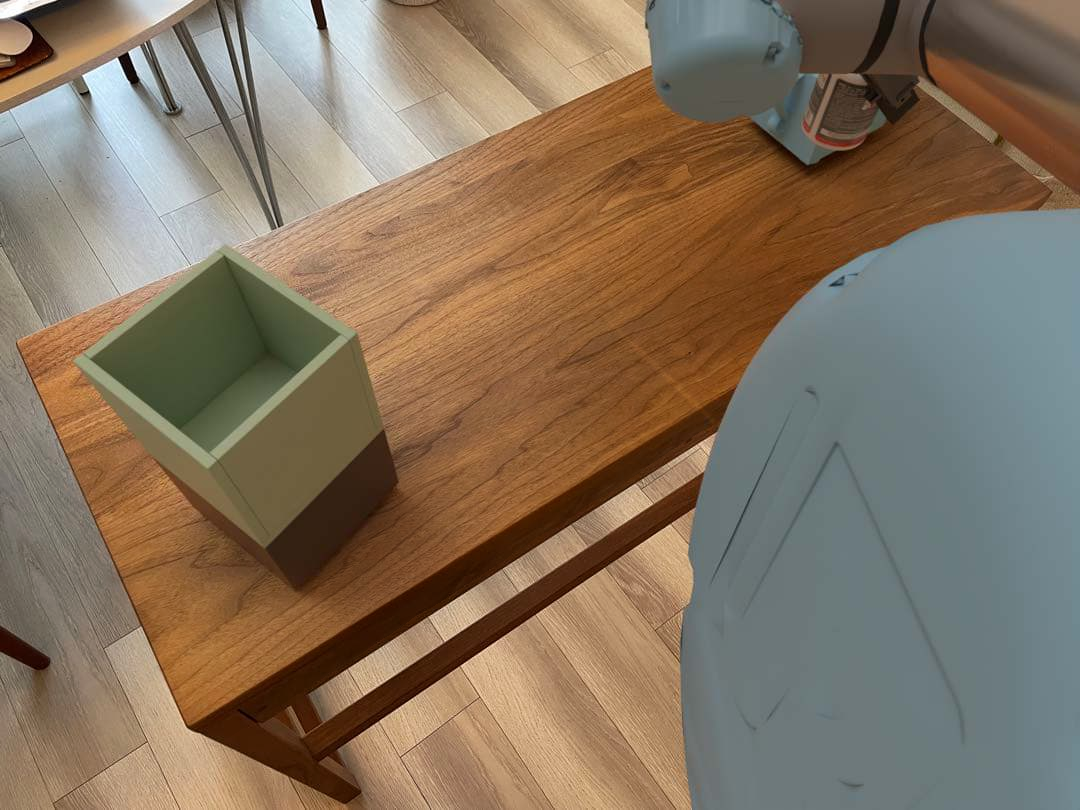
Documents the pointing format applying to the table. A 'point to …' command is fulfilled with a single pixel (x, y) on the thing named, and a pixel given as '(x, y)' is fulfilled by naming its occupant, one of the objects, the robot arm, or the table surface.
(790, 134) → the teapot
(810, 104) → the pill bottle
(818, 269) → the table surface
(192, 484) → the waste bin
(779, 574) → the robot arm
